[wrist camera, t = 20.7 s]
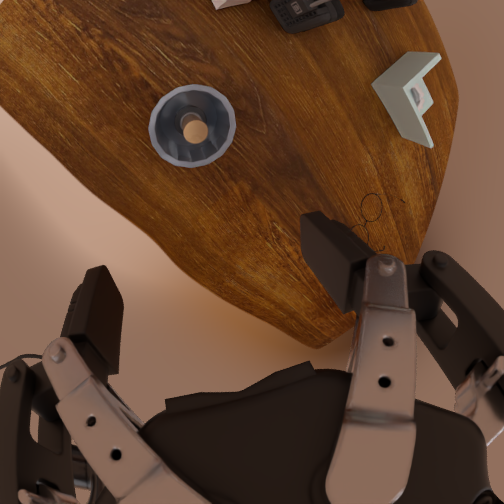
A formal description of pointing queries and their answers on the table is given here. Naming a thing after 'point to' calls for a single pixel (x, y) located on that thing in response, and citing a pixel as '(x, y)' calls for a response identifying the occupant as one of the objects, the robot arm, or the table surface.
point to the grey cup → (175, 144)
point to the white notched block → (228, 3)
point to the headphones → (321, 11)
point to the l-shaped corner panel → (408, 94)
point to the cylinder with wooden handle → (191, 124)
